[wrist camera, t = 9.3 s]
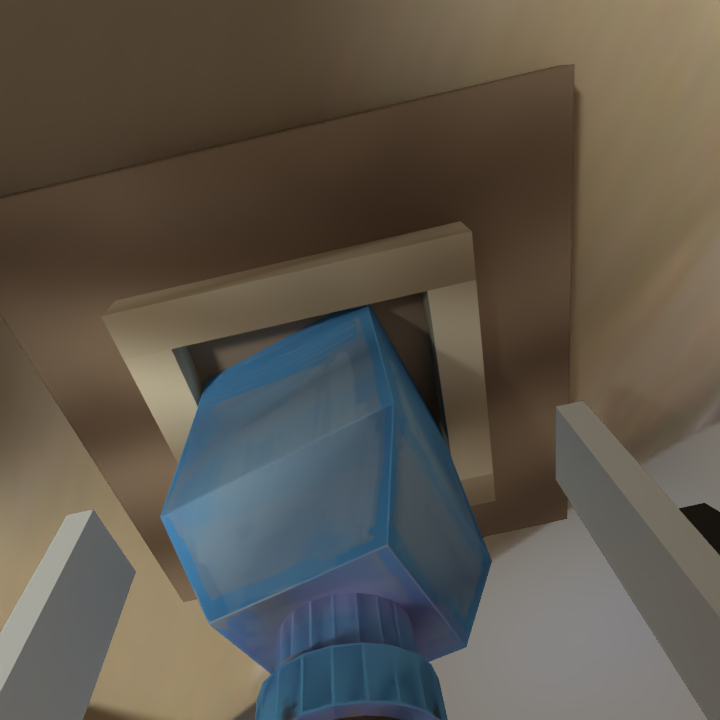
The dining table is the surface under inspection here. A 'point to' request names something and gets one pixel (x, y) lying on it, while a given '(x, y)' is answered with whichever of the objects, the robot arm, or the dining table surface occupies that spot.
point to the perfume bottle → (329, 525)
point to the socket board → (316, 283)
